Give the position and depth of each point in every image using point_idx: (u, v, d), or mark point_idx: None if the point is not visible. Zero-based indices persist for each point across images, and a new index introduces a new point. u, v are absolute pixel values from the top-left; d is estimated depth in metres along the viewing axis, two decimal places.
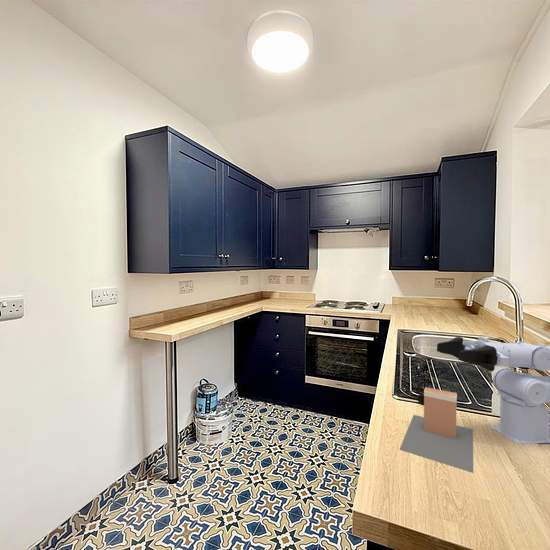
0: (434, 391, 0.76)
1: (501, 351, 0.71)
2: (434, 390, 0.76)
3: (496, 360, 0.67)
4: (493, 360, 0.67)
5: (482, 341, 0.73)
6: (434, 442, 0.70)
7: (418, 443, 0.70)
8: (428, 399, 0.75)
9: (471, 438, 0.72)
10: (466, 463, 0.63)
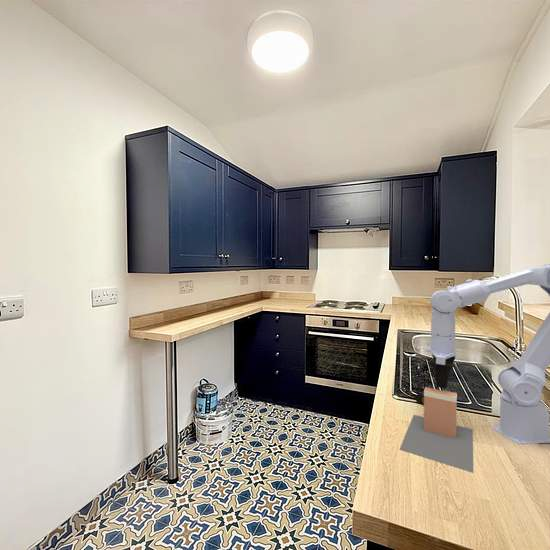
0: (434, 391, 0.76)
1: (436, 342, 0.79)
2: (434, 390, 0.76)
3: (440, 364, 0.75)
4: (441, 364, 0.77)
5: None
6: (434, 442, 0.70)
7: (418, 443, 0.70)
8: (428, 399, 0.75)
9: (471, 438, 0.72)
10: (466, 463, 0.63)
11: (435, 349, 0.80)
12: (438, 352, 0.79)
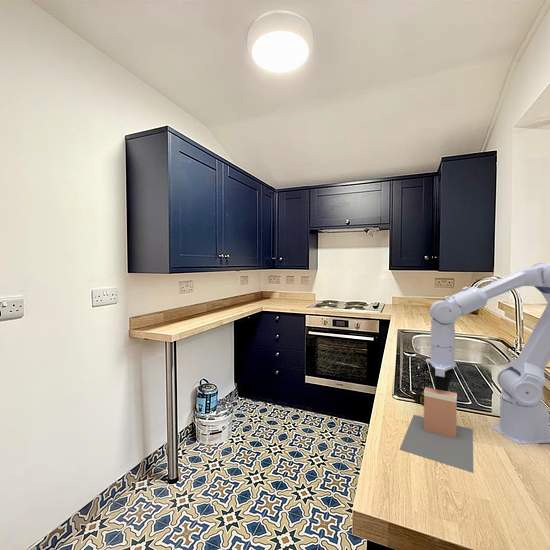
0: (434, 391, 0.76)
1: (436, 353, 0.79)
2: (434, 390, 0.76)
3: (440, 375, 0.75)
4: None
5: None
6: (434, 442, 0.70)
7: (418, 443, 0.70)
8: (428, 399, 0.75)
9: (471, 438, 0.72)
10: (466, 463, 0.63)
11: (435, 360, 0.79)
12: (438, 363, 0.78)
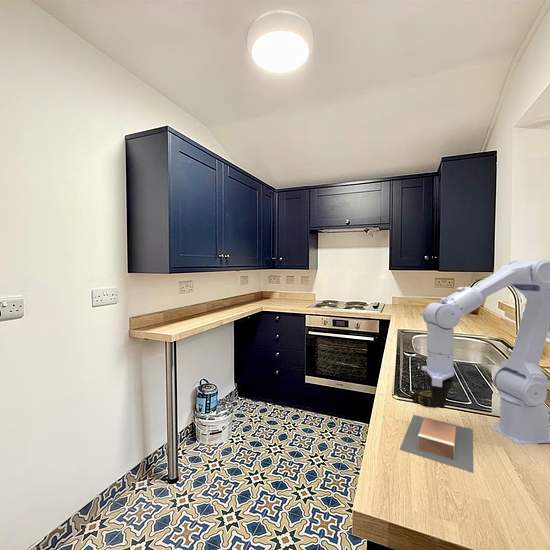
0: (428, 447, 0.66)
1: (432, 360, 0.72)
2: (428, 444, 0.66)
3: (437, 385, 0.68)
4: None
5: None
6: None
7: None
8: None
9: (471, 438, 0.72)
10: (466, 463, 0.63)
11: (431, 368, 0.72)
12: (434, 372, 0.71)
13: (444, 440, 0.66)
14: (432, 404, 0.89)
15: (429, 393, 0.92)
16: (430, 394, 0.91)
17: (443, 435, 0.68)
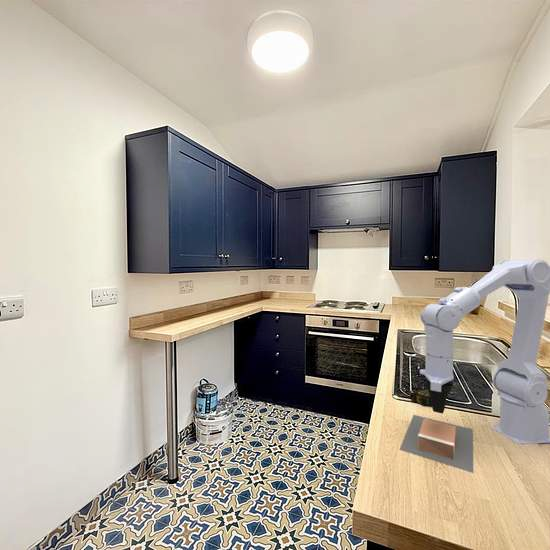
0: (428, 447, 0.66)
1: (431, 364, 0.69)
2: (428, 444, 0.66)
3: None
4: None
5: None
6: None
7: None
8: None
9: (471, 438, 0.72)
10: (466, 463, 0.63)
11: (430, 372, 0.70)
12: (433, 375, 0.69)
13: (444, 440, 0.66)
14: (430, 404, 0.89)
15: (427, 393, 0.92)
16: (428, 394, 0.91)
17: (443, 435, 0.68)
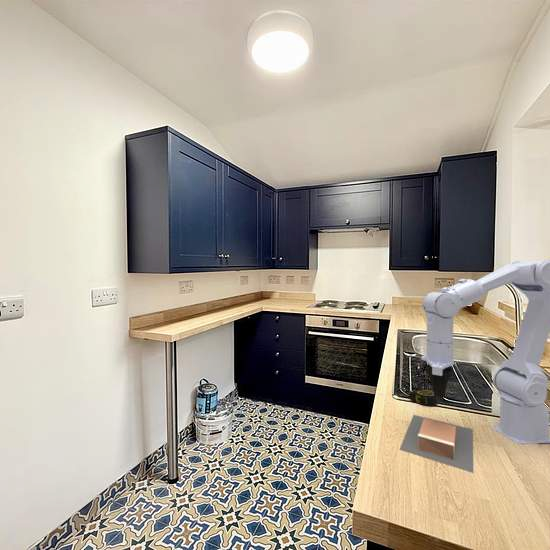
0: (428, 447, 0.66)
1: (432, 350, 0.72)
2: (428, 444, 0.66)
3: (437, 374, 0.68)
4: None
5: None
6: None
7: None
8: None
9: (471, 438, 0.72)
10: (466, 463, 0.63)
11: (431, 357, 0.72)
12: (434, 361, 0.71)
13: (444, 440, 0.66)
14: (429, 403, 0.89)
15: (426, 392, 0.92)
16: (427, 393, 0.92)
17: (443, 435, 0.68)
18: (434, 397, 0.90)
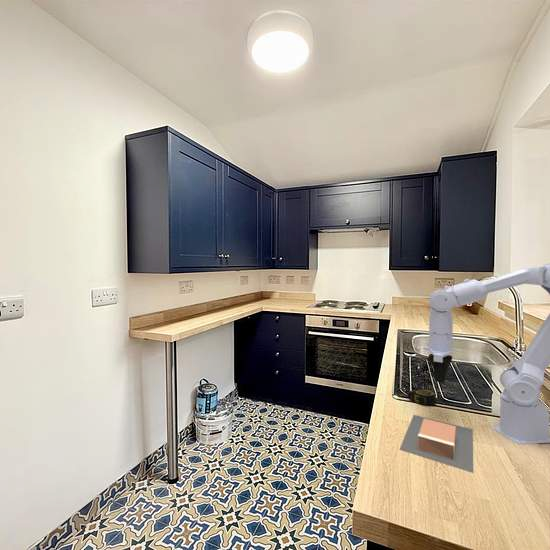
0: (428, 447, 0.66)
1: (434, 340, 0.81)
2: (428, 444, 0.66)
3: (438, 361, 0.77)
4: None
5: None
6: None
7: None
8: None
9: (471, 438, 0.72)
10: (466, 463, 0.63)
11: (433, 347, 0.81)
12: (436, 350, 0.81)
13: (444, 440, 0.66)
14: (428, 403, 0.90)
15: (425, 392, 0.93)
16: (426, 393, 0.92)
17: (443, 435, 0.68)
18: (433, 397, 0.90)
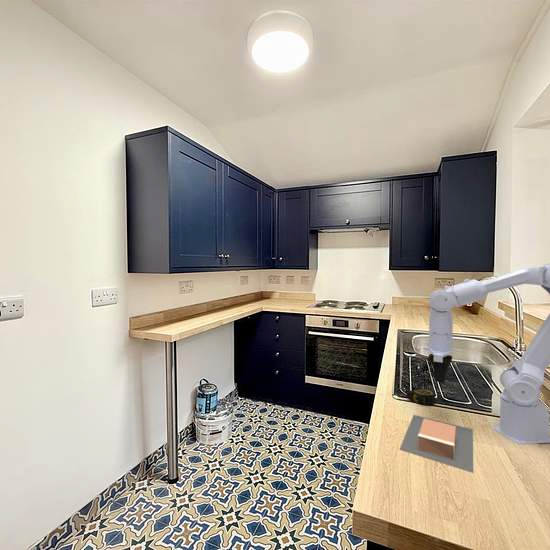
0: (428, 447, 0.66)
1: (434, 340, 0.81)
2: (428, 444, 0.66)
3: (438, 361, 0.77)
4: None
5: None
6: None
7: None
8: None
9: (471, 438, 0.72)
10: (466, 463, 0.63)
11: (433, 347, 0.81)
12: (436, 350, 0.81)
13: (444, 440, 0.66)
14: (427, 402, 0.90)
15: (424, 392, 0.93)
16: (425, 393, 0.92)
17: (443, 435, 0.68)
18: (432, 396, 0.90)
